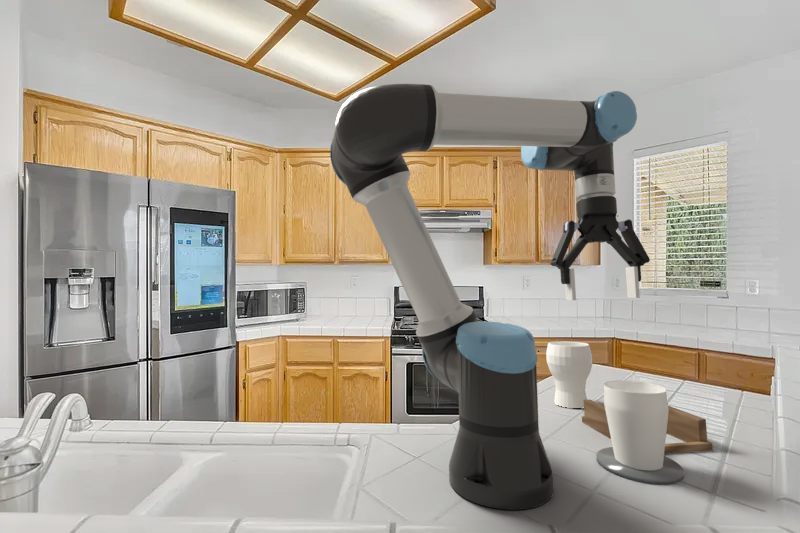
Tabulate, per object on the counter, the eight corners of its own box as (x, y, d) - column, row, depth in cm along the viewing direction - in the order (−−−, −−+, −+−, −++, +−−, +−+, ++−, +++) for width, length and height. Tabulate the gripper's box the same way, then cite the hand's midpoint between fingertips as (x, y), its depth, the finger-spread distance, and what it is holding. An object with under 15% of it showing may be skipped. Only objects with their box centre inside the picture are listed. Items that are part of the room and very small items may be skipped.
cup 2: (604, 466, 61) (600, 389, 61) (608, 446, 68) (604, 378, 69) (674, 480, 56) (669, 396, 57) (670, 457, 64) (665, 383, 64)
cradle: (639, 455, 66) (637, 425, 66) (582, 422, 83) (580, 398, 83) (712, 450, 67) (710, 421, 68) (641, 418, 84) (640, 395, 85)
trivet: (629, 487, 55) (629, 482, 56) (581, 452, 67) (581, 449, 67) (704, 481, 57) (704, 476, 57) (644, 448, 69) (644, 444, 69)
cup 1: (596, 402, 97) (594, 342, 98) (592, 413, 88) (588, 347, 89) (552, 396, 103) (550, 340, 104) (544, 406, 94) (541, 345, 95)
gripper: (546, 195, 76) (552, 301, 75) (664, 193, 78) (673, 297, 77) (531, 203, 84) (536, 300, 83) (639, 201, 86) (646, 296, 84)
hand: (602, 299), depth 80 cm, fingers open, 13 cm apart
